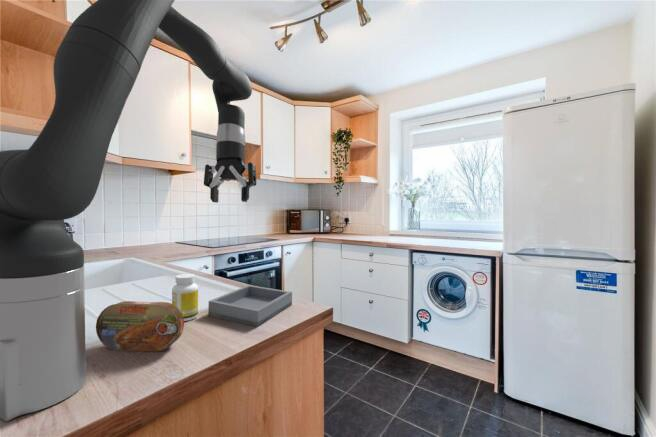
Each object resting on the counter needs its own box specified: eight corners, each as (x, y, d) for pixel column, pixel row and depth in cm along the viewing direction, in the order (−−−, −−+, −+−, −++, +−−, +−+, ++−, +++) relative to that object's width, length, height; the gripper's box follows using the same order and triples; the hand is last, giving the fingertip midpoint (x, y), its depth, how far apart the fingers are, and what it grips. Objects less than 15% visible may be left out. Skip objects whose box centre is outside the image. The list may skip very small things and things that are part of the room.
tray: (257, 327, 62) (258, 311, 62) (208, 315, 67) (208, 301, 67) (291, 304, 76) (292, 292, 76) (248, 297, 81) (248, 284, 81)
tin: (94, 349, 51) (93, 303, 50) (108, 341, 54) (108, 297, 54) (177, 353, 51) (177, 306, 50) (186, 344, 54) (186, 300, 53)
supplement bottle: (202, 313, 68) (202, 273, 68) (189, 323, 63) (189, 279, 62) (181, 312, 69) (181, 272, 68) (166, 321, 63) (166, 278, 63)
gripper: (199, 140, 76) (197, 200, 75) (249, 137, 74) (248, 199, 73) (214, 149, 84) (212, 204, 82) (260, 147, 82) (259, 203, 80)
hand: (229, 201), depth 78 cm, fingers open, 8 cm apart
